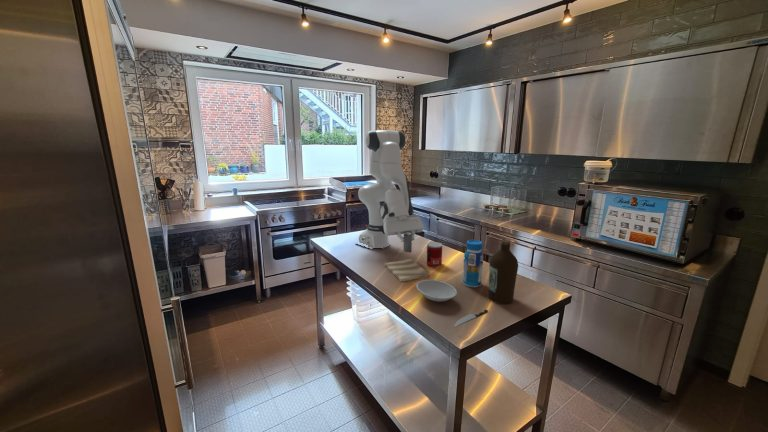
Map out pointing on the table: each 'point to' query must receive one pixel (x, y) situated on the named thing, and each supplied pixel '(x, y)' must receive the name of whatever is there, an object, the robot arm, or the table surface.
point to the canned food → (434, 254)
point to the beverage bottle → (473, 264)
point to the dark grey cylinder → (407, 242)
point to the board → (406, 270)
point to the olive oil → (502, 274)
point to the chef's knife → (469, 318)
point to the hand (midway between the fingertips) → (408, 240)
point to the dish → (436, 290)
